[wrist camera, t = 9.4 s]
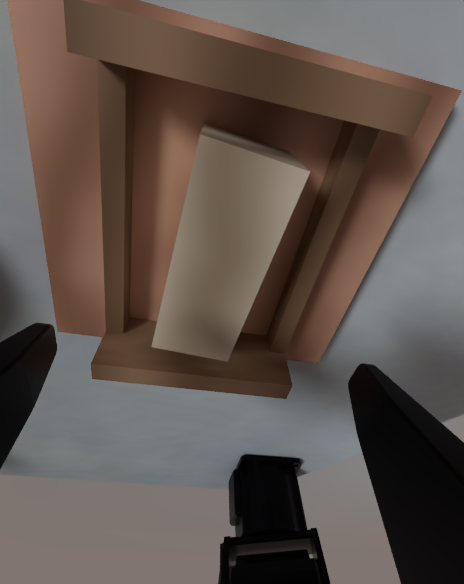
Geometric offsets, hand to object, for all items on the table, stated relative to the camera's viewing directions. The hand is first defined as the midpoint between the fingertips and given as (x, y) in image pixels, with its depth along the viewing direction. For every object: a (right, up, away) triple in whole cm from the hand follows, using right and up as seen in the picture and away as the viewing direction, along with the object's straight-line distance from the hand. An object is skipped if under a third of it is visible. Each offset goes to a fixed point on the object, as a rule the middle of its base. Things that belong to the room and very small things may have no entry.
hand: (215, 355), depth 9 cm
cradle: (0, +6, +8) cm, 10 cm away
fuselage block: (0, +5, +7) cm, 9 cm away
